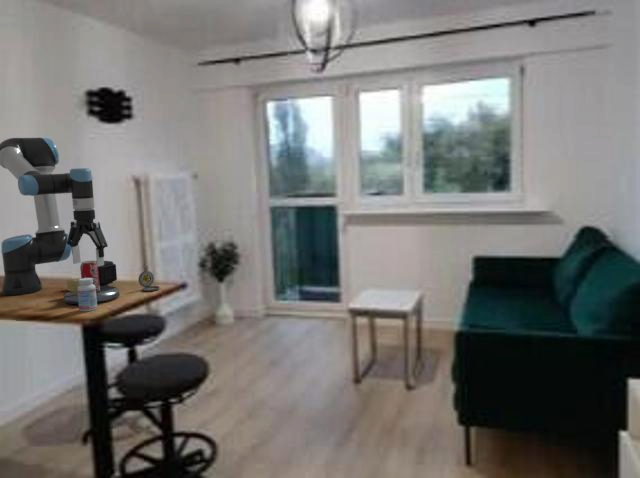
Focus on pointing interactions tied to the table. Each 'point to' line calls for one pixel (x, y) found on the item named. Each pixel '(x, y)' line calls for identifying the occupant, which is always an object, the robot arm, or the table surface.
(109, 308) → the table surface
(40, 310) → the table surface
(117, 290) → the turntable
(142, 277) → the pocket watch
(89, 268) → the beverage can
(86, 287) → the pill bottle
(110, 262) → the camera
